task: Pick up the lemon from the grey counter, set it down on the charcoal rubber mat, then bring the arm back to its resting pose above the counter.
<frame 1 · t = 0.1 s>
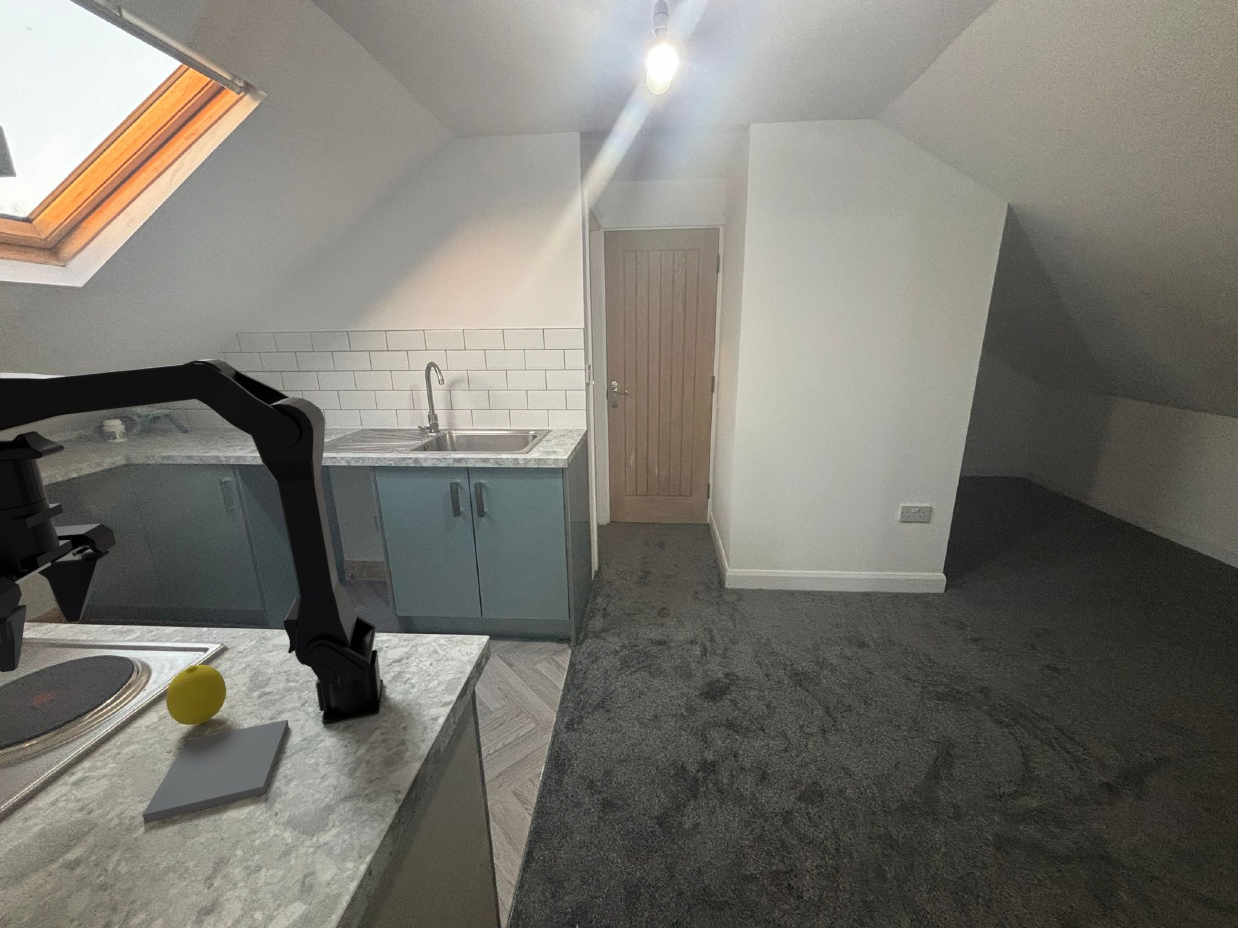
hand: (44, 643, 53), 15 cm above the countertop, tool pointing down, fingers open, 9 cm apart
mat: (224, 769, 56), on the countertop
lemon: (203, 724, 62), on the countertop
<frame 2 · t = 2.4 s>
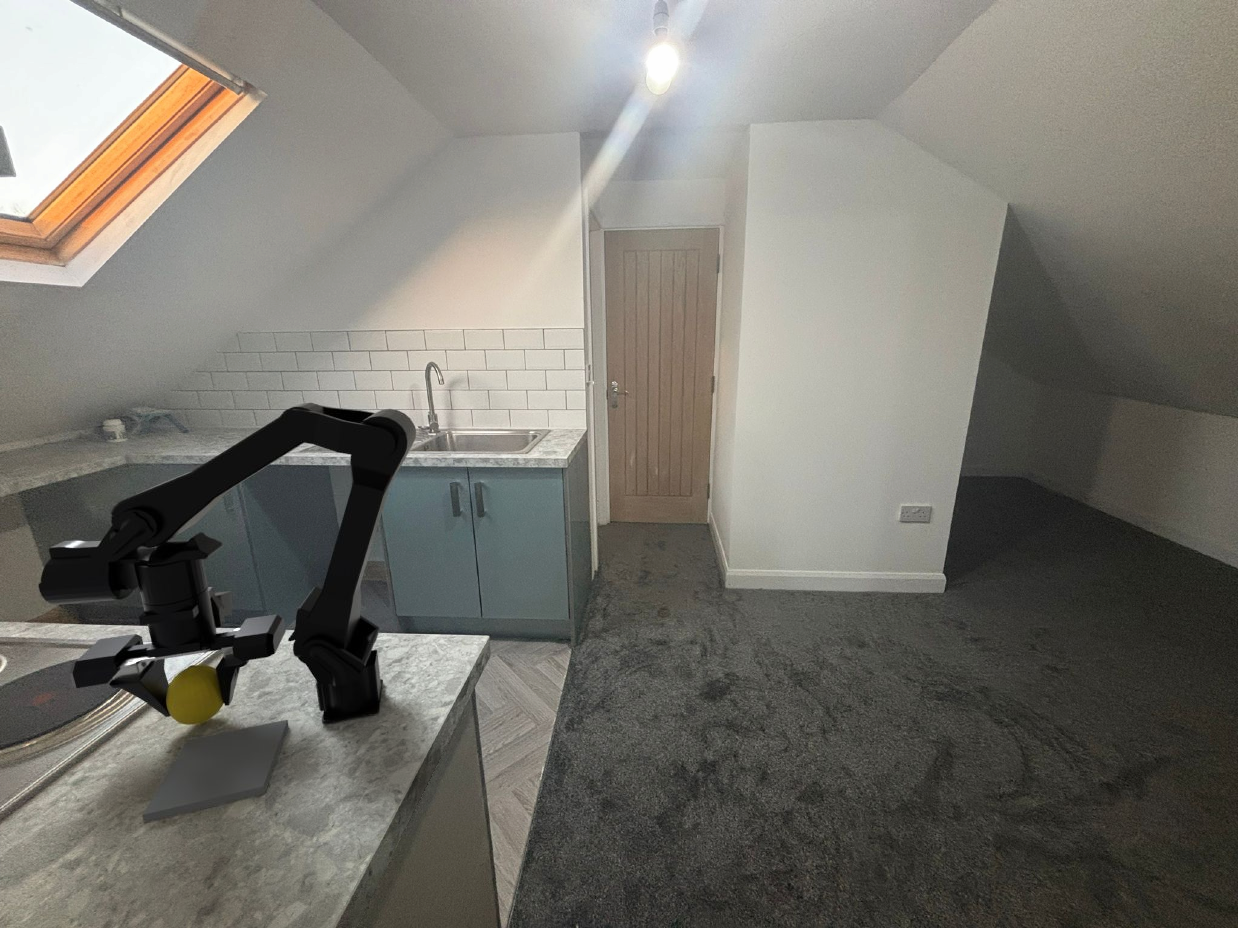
hand: (200, 708, 62), 2 cm above the countertop, tool pointing down, fingers closed on lemon, 5 cm apart
lemon: (203, 724, 62), on the countertop, touching gripper
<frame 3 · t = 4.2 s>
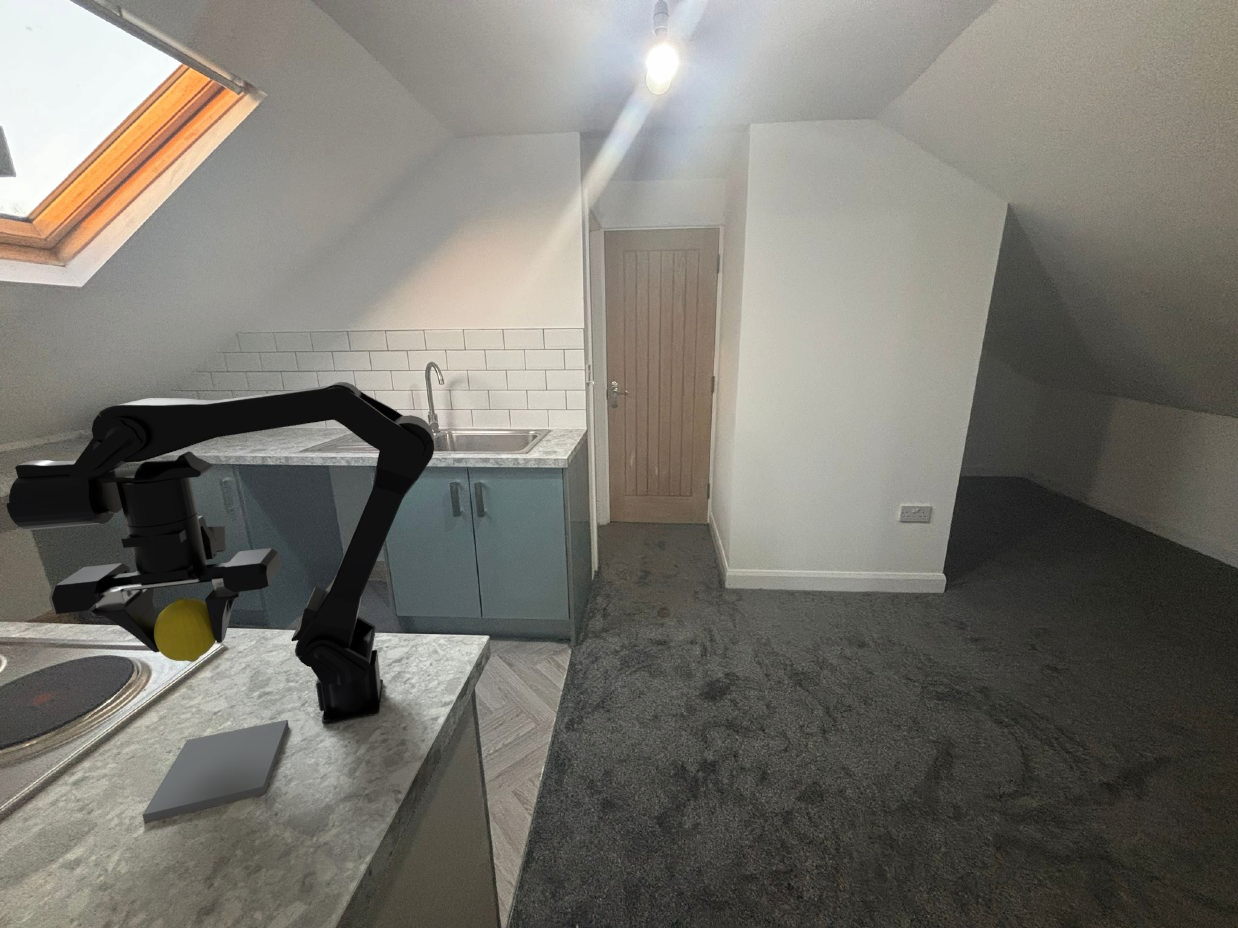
hand: (190, 645, 58), 12 cm above the countertop, tool pointing down, fingers closed on lemon, 5 cm apart
lemon: (194, 662, 58), point 10 cm above the countertop, touching gripper
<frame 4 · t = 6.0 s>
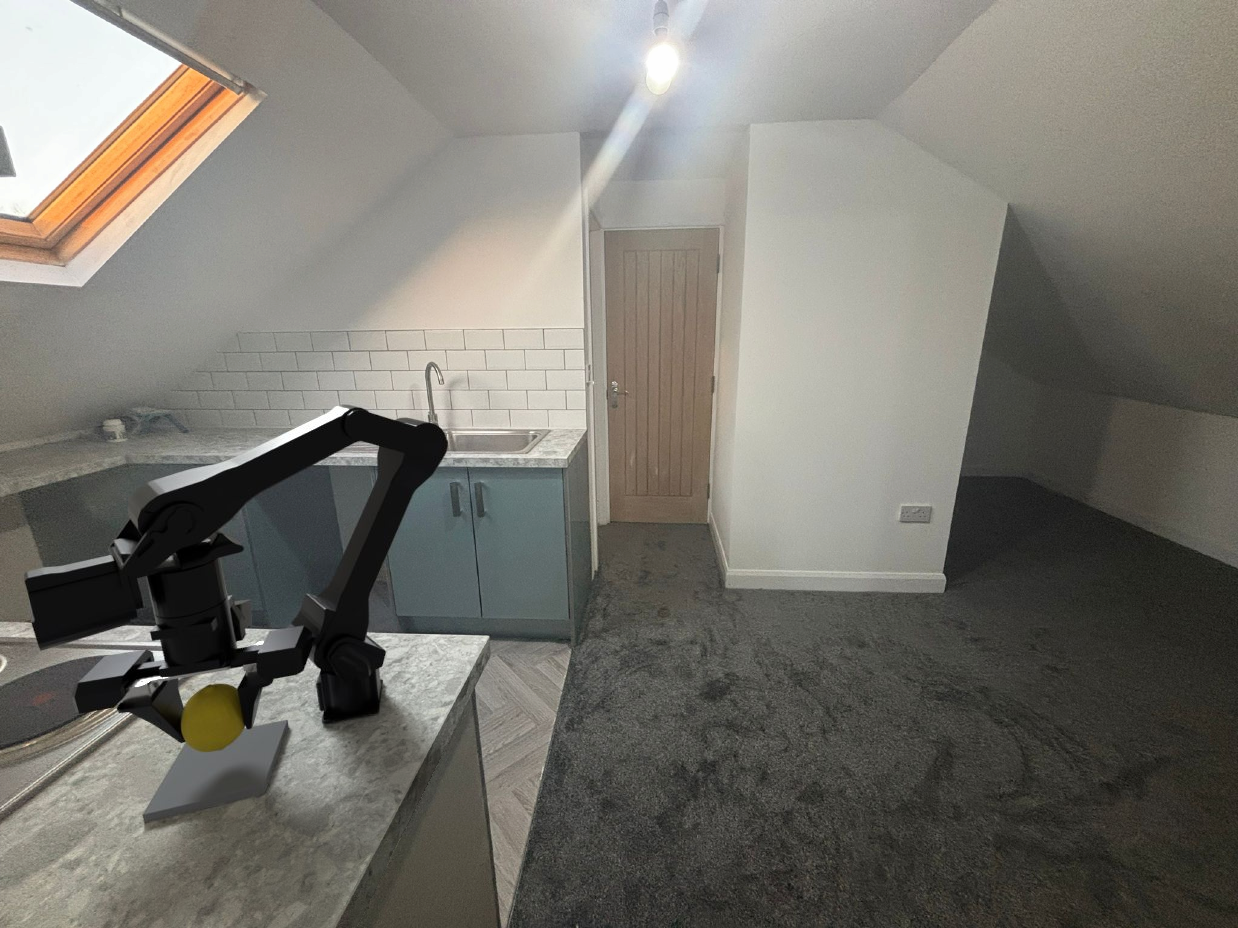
hand: (218, 732, 55), 5 cm above the countertop, tool pointing down, fingers closed on lemon, 5 cm apart
lemon: (222, 750, 55), point 2 cm above the countertop, touching gripper
when the fingers open (4 cm above the countertop, at t = 6.5 s): lemon drops 1 cm, resting on mat.
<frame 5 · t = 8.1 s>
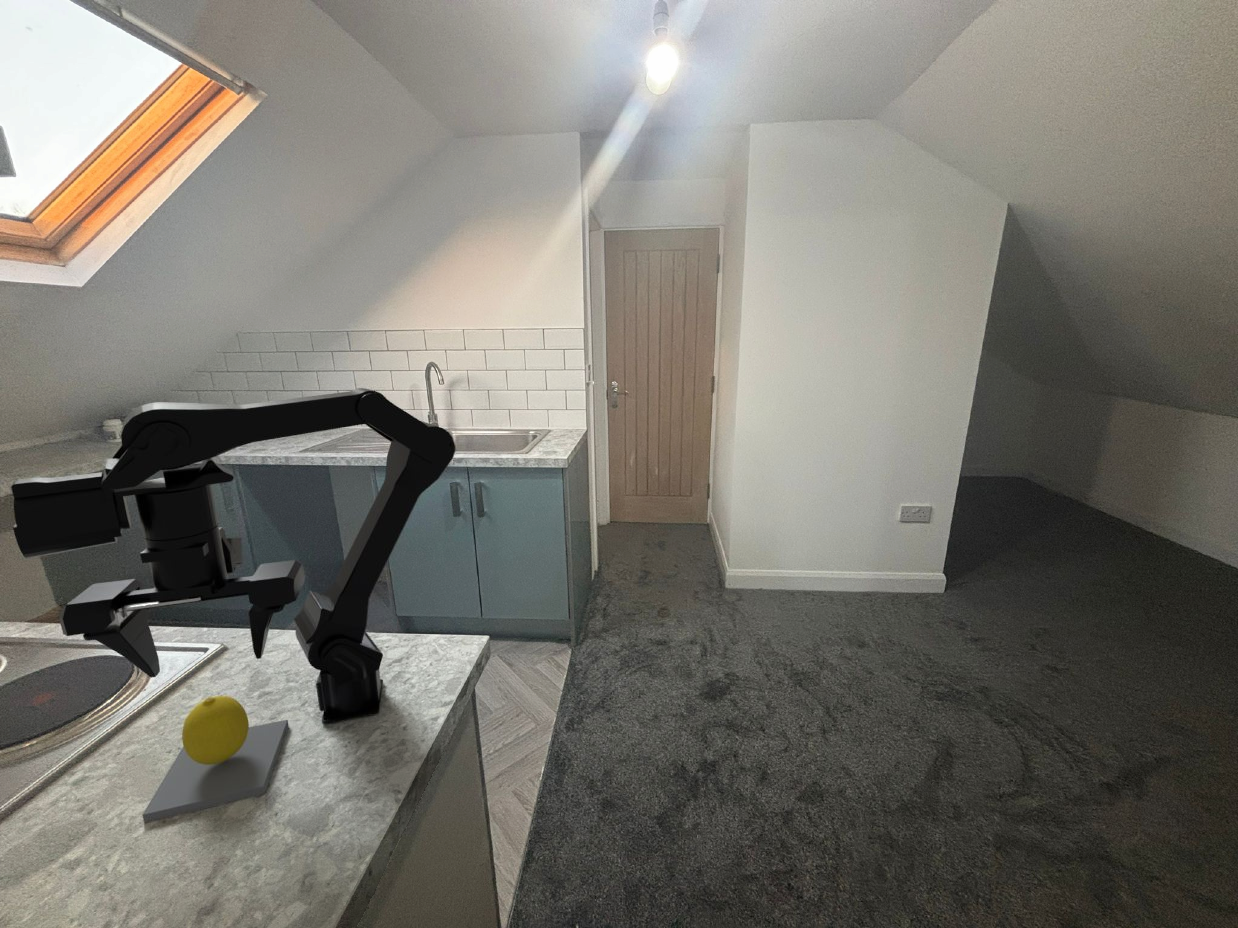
hand: (209, 665, 54), 12 cm above the countertop, tool pointing down, fingers open, 9 cm apart
lemon: (224, 762, 55), point 1 cm above the countertop, touching mat
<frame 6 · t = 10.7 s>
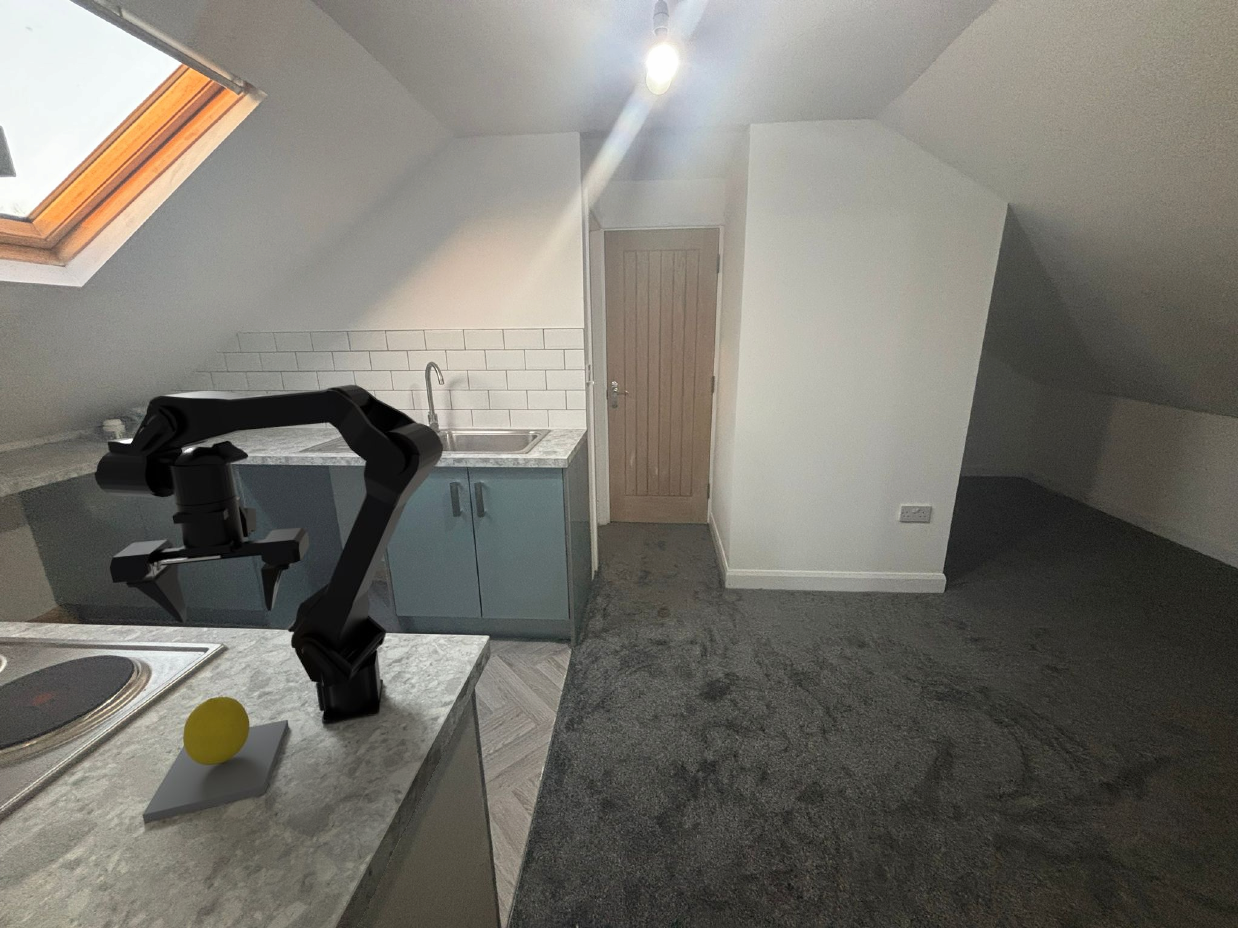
hand: (228, 615, 64), 12 cm above the countertop, tool pointing down, fingers open, 9 cm apart
nothing on the countertop moved.
at the end: lemon inside the target area on the mat (0.1 cm from its centre), point 0.8 cm above the mat's base; lemon touching mat; the gripper is holding nothing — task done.
